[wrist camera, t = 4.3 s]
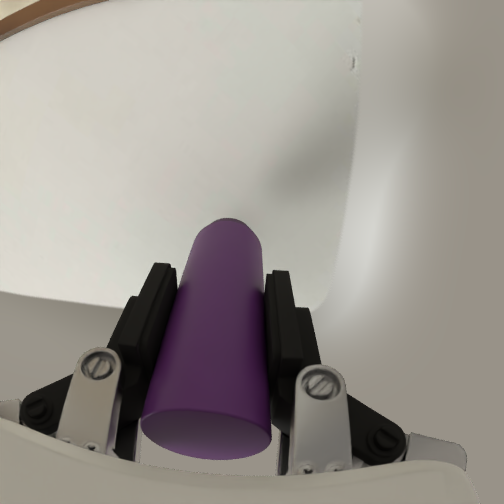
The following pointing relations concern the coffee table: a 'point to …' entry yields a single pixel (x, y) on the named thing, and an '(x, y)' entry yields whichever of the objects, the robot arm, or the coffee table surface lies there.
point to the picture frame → (33, 12)
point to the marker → (214, 353)
